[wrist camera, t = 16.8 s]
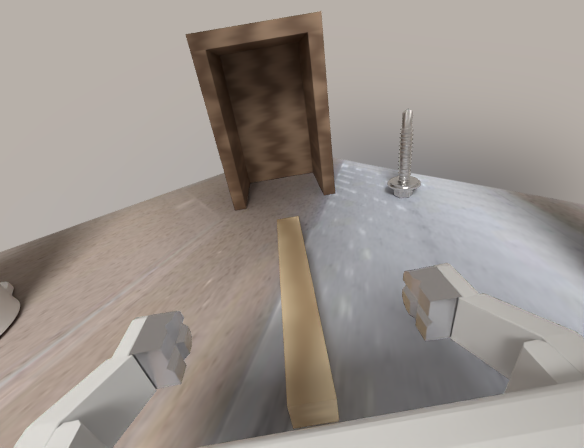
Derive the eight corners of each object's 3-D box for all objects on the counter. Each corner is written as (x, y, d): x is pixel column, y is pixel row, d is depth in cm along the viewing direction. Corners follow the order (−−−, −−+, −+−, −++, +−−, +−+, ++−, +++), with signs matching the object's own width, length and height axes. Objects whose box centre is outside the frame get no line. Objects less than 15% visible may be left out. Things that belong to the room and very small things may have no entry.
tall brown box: (235, 210, 48) (185, 34, 36) (241, 181, 61) (207, 45, 49) (335, 193, 48) (321, 11, 36) (320, 167, 61) (306, 28, 49)
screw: (381, 198, 44) (394, 186, 47) (412, 203, 41) (424, 191, 44) (383, 112, 38) (398, 106, 41) (419, 111, 35) (432, 104, 38)
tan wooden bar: (294, 431, 18) (287, 406, 16) (280, 237, 39) (276, 219, 37) (339, 423, 18) (336, 398, 16) (301, 234, 39) (298, 216, 37)
